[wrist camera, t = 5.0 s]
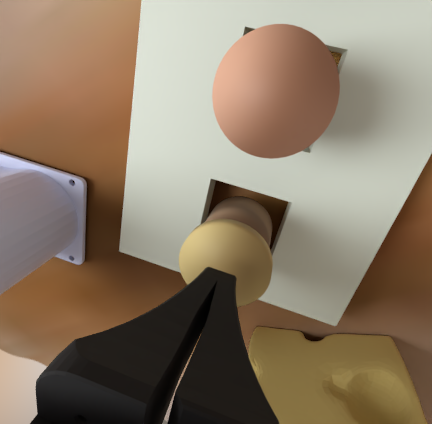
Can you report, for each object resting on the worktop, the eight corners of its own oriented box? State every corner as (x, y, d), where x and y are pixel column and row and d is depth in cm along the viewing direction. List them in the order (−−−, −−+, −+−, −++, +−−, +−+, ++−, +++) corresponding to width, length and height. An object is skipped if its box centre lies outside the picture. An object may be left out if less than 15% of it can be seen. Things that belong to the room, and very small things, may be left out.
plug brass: (198, 245, 20) (172, 289, 16) (213, 182, 18) (187, 213, 14) (264, 267, 19) (256, 319, 15) (287, 204, 17) (284, 244, 13)
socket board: (132, 238, 24) (118, 251, 22) (190, -284, 12) (172, -346, 11) (332, 306, 22) (335, 326, 20) (621, -245, 10) (689, -313, 9)
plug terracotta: (226, 126, 17) (201, 141, 12) (247, 32, 15) (227, 10, 10) (308, 148, 16) (312, 172, 12) (342, 53, 14) (362, 40, 10)
